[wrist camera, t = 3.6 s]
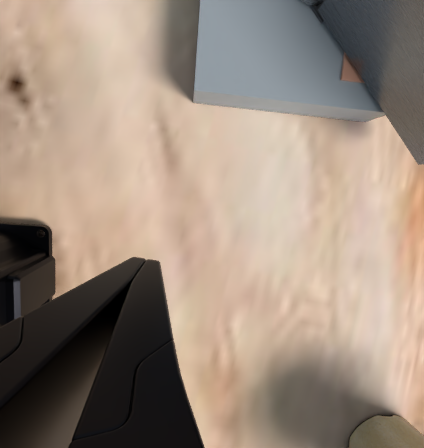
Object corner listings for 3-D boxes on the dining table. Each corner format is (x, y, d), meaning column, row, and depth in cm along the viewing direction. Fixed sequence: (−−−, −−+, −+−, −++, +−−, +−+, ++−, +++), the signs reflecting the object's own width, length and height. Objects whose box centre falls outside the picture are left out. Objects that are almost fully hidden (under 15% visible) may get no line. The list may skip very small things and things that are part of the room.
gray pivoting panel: (279, -21, 15) (363, -205, 8) (317, -54, 15) (436, -272, 8) (408, 172, 17) (562, 165, 10) (441, 144, 17) (619, 118, 10)
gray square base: (193, 102, 18) (194, 89, 15) (207, -111, 16) (211, -168, 13) (364, 122, 19) (392, 112, 16) (395, -75, 17) (433, -121, 15)
